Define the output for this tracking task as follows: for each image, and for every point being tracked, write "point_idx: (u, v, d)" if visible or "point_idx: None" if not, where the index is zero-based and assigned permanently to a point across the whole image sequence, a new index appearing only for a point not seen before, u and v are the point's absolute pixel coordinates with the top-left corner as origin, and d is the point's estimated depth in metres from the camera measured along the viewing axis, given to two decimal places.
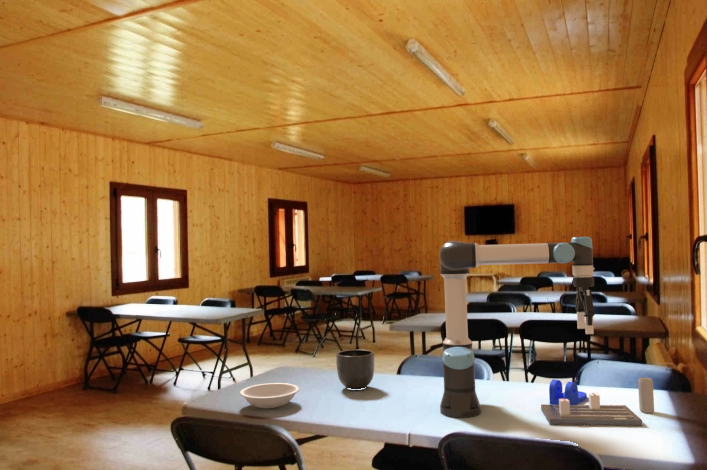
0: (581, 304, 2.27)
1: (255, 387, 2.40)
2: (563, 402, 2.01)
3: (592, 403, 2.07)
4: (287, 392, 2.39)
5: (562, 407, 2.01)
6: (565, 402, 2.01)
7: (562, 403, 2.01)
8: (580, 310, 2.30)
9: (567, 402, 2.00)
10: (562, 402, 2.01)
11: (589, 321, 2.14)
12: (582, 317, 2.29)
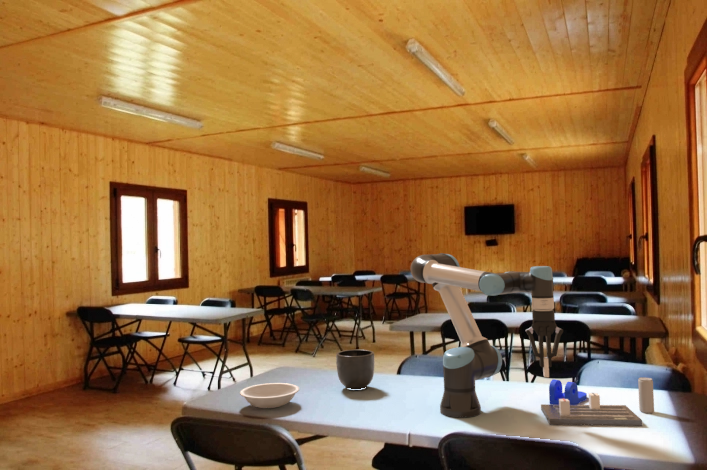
0: (546, 344, 2.03)
1: (255, 387, 2.40)
2: (563, 402, 2.01)
3: (592, 403, 2.07)
4: (287, 392, 2.39)
5: (562, 407, 2.01)
6: (565, 402, 2.01)
7: (562, 403, 2.01)
8: (547, 355, 2.03)
9: (567, 402, 2.00)
10: (562, 402, 2.01)
11: None
12: None
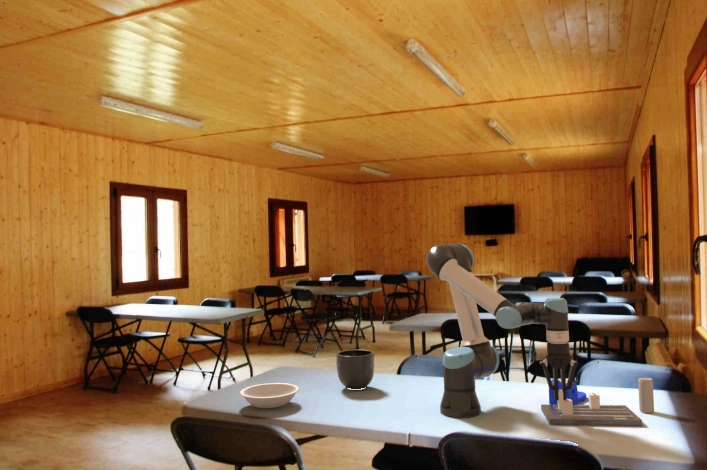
0: (561, 377, 2.02)
1: (255, 387, 2.40)
2: (566, 402, 2.01)
3: (592, 403, 2.07)
4: (287, 392, 2.39)
5: (565, 407, 2.01)
6: (568, 402, 2.00)
7: (565, 403, 2.01)
8: (562, 387, 2.02)
9: (570, 402, 2.00)
10: (565, 402, 2.01)
11: (554, 395, 2.03)
12: None
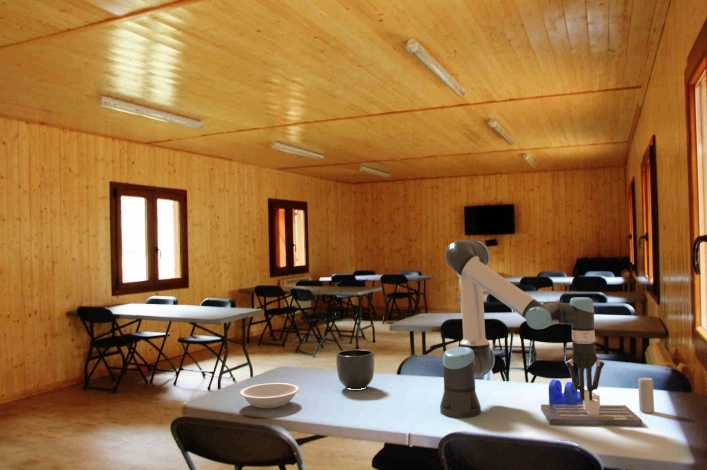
0: (587, 377, 2.01)
1: (255, 387, 2.40)
2: (592, 402, 1.99)
3: None
4: (287, 392, 2.39)
5: (591, 407, 1.99)
6: (594, 402, 1.99)
7: (591, 403, 1.99)
8: (588, 387, 2.01)
9: (596, 402, 1.99)
10: (591, 402, 1.99)
11: (580, 395, 2.01)
12: None
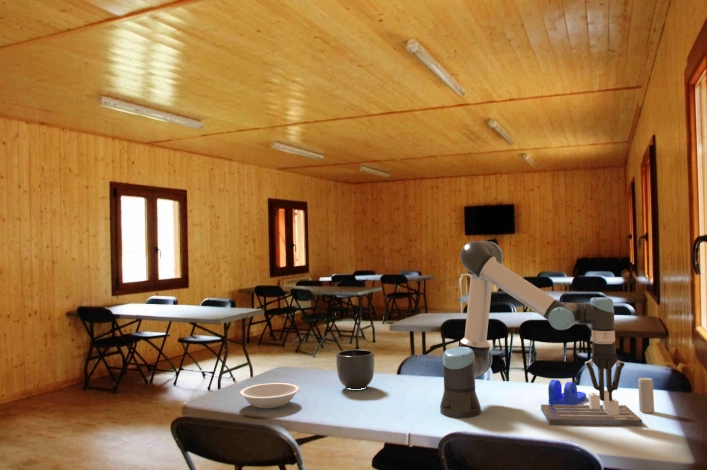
0: (607, 377, 2.00)
1: (255, 387, 2.40)
2: (612, 402, 1.98)
3: (592, 403, 2.07)
4: (287, 392, 2.39)
5: (611, 408, 1.98)
6: (614, 402, 1.98)
7: (611, 403, 1.98)
8: (608, 388, 2.00)
9: (616, 402, 1.98)
10: (611, 402, 1.98)
11: None
12: None
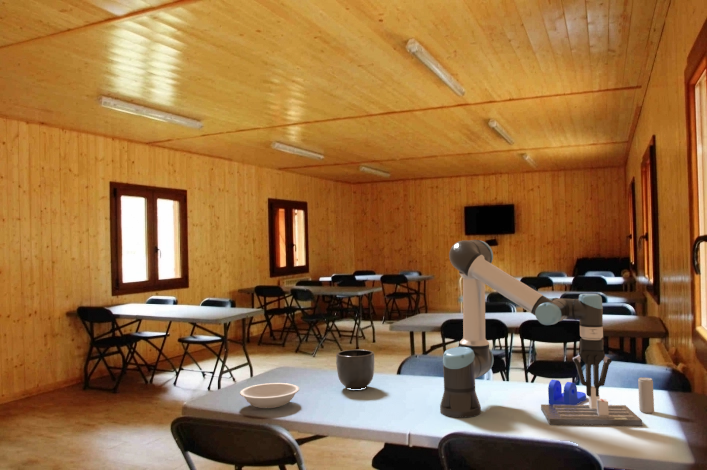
0: (594, 373, 2.01)
1: (255, 387, 2.40)
2: (601, 402, 1.99)
3: None
4: (287, 392, 2.39)
5: (600, 408, 1.99)
6: (603, 402, 1.99)
7: (600, 403, 1.99)
8: (595, 384, 2.01)
9: (606, 402, 1.98)
10: (600, 402, 1.99)
11: (586, 391, 2.01)
12: None
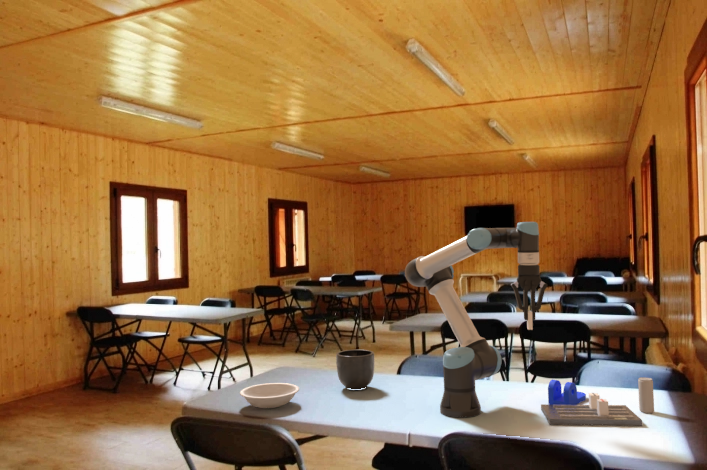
0: (531, 298, 2.08)
1: (255, 387, 2.40)
2: (601, 402, 1.99)
3: (592, 403, 2.07)
4: (287, 392, 2.39)
5: (600, 408, 1.99)
6: (603, 402, 1.99)
7: (600, 403, 1.99)
8: (531, 308, 2.08)
9: (606, 402, 1.98)
10: (600, 402, 1.99)
11: (524, 315, 2.09)
12: None
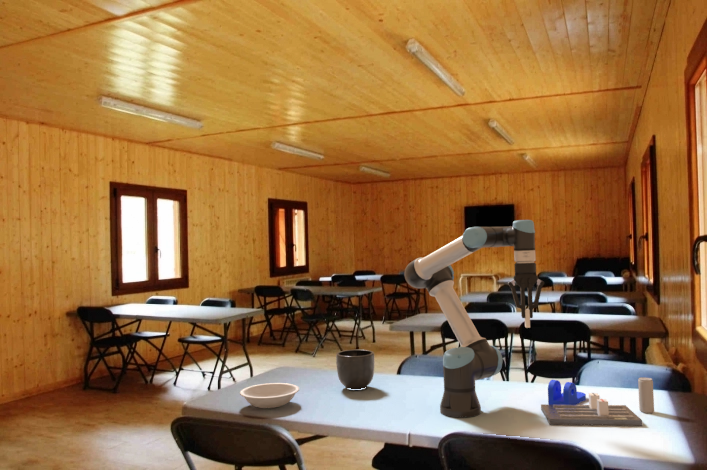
0: (528, 296, 2.08)
1: (255, 387, 2.40)
2: (601, 402, 1.99)
3: (592, 403, 2.07)
4: (287, 392, 2.40)
5: (600, 408, 1.99)
6: (603, 402, 1.99)
7: (600, 403, 1.99)
8: (529, 306, 2.08)
9: (606, 402, 1.98)
10: (600, 402, 1.99)
11: (521, 313, 2.09)
12: None
